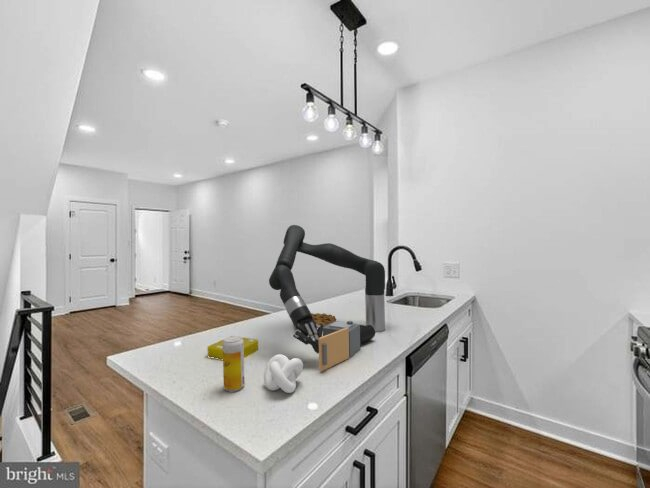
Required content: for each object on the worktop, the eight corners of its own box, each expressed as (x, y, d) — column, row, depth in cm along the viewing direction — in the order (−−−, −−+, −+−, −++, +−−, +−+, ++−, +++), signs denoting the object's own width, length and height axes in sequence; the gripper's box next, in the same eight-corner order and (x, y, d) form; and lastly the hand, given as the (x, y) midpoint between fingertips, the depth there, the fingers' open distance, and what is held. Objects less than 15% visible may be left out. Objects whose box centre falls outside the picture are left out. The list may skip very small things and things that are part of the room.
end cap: (361, 347, 125) (361, 331, 125) (348, 343, 130) (347, 327, 129) (375, 341, 132) (375, 325, 132) (362, 337, 137) (362, 322, 137)
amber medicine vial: (226, 383, 96) (225, 336, 96) (246, 382, 96) (244, 335, 96) (221, 393, 90) (220, 342, 89) (242, 392, 90) (241, 341, 90)
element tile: (205, 358, 118) (204, 345, 118) (231, 345, 132) (231, 334, 132) (235, 363, 112) (235, 350, 112) (260, 349, 126) (260, 338, 126)
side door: (319, 370, 103) (318, 338, 102) (347, 356, 114) (347, 327, 114) (323, 372, 101) (322, 339, 101) (352, 358, 113) (351, 328, 112)
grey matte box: (334, 345, 128) (334, 318, 128) (360, 349, 123) (359, 321, 122) (323, 353, 119) (322, 324, 119) (350, 358, 114) (349, 328, 114)
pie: (311, 318, 172) (311, 309, 172) (344, 324, 159) (344, 314, 159) (284, 328, 155) (284, 318, 154) (319, 335, 142) (319, 324, 142)
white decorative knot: (303, 397, 86) (302, 366, 86) (260, 400, 85) (259, 368, 85) (303, 379, 98) (302, 351, 97) (265, 381, 97) (264, 353, 97)
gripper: (307, 313, 121) (329, 352, 112) (279, 320, 112) (300, 363, 103) (316, 302, 117) (339, 341, 108) (287, 308, 108) (309, 351, 99)
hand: (320, 352), depth 106 cm, fingers closed
